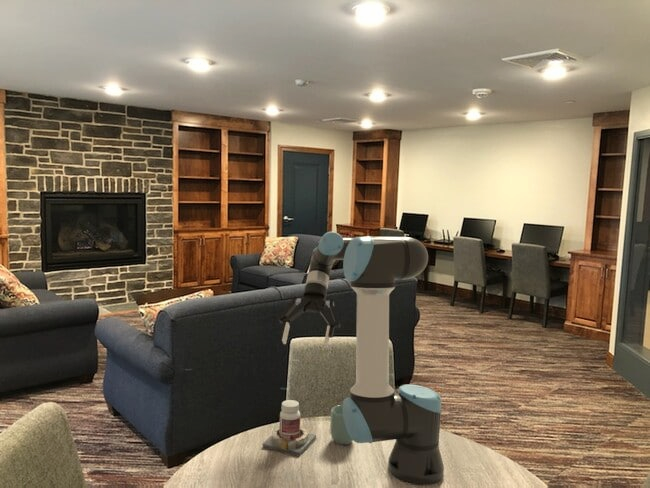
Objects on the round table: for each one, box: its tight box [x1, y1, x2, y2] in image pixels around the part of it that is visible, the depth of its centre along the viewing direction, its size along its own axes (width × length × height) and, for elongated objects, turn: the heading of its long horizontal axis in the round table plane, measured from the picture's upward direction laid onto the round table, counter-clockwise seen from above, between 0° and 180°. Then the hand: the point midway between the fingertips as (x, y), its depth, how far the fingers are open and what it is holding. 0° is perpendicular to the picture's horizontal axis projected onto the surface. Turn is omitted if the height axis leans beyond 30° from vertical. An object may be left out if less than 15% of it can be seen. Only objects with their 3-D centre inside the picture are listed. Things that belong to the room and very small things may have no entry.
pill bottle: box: [278, 399, 301, 439], centre depth 162 cm, size 6×6×11 cm
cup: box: [330, 404, 354, 446], centre depth 164 cm, size 8×8×10 cm
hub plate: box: [262, 426, 317, 457], centre depth 162 cm, size 12×12×3 cm
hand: (304, 344), depth 170 cm, fingers open, 13 cm apart
